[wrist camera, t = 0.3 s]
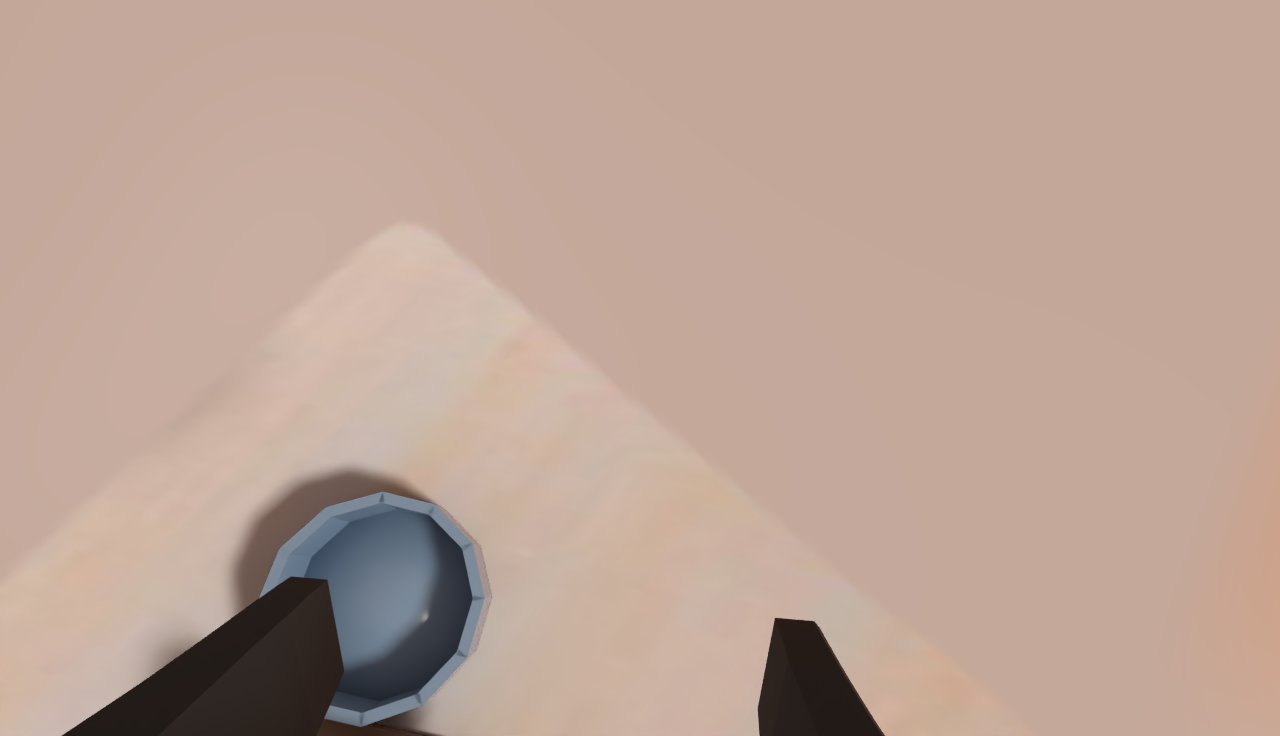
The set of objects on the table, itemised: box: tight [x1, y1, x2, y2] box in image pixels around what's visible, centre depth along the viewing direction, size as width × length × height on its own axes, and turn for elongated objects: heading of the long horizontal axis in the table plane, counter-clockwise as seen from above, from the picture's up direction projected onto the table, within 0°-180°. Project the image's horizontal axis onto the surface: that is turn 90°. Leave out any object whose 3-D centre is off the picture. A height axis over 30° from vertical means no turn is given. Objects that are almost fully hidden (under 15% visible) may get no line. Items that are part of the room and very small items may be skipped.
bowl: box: [259, 492, 492, 727], centre depth 35 cm, size 11×11×4 cm
